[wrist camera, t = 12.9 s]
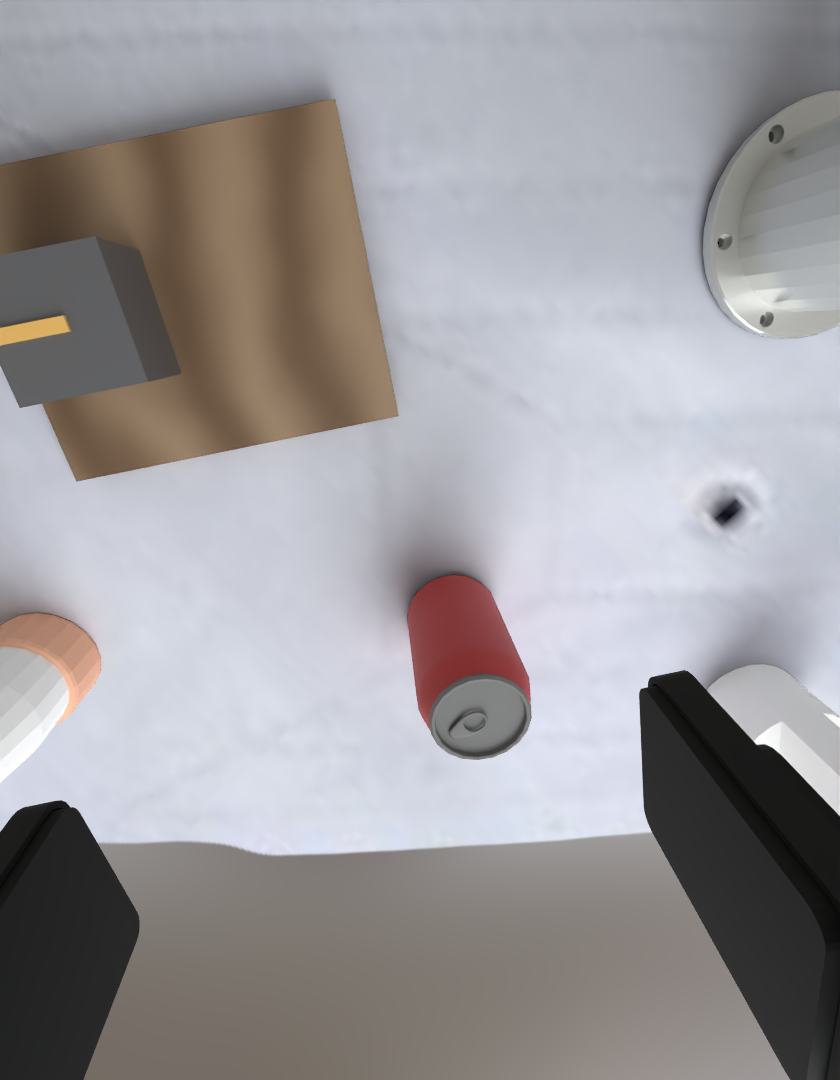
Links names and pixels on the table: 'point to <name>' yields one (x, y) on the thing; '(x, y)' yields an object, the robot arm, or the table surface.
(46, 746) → the table surface
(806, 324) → the robot arm
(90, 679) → the pepper shaker
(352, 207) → the base plate
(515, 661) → the beer can
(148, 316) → the grey cube with stripe
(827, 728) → the cylinder with rectangular tab
